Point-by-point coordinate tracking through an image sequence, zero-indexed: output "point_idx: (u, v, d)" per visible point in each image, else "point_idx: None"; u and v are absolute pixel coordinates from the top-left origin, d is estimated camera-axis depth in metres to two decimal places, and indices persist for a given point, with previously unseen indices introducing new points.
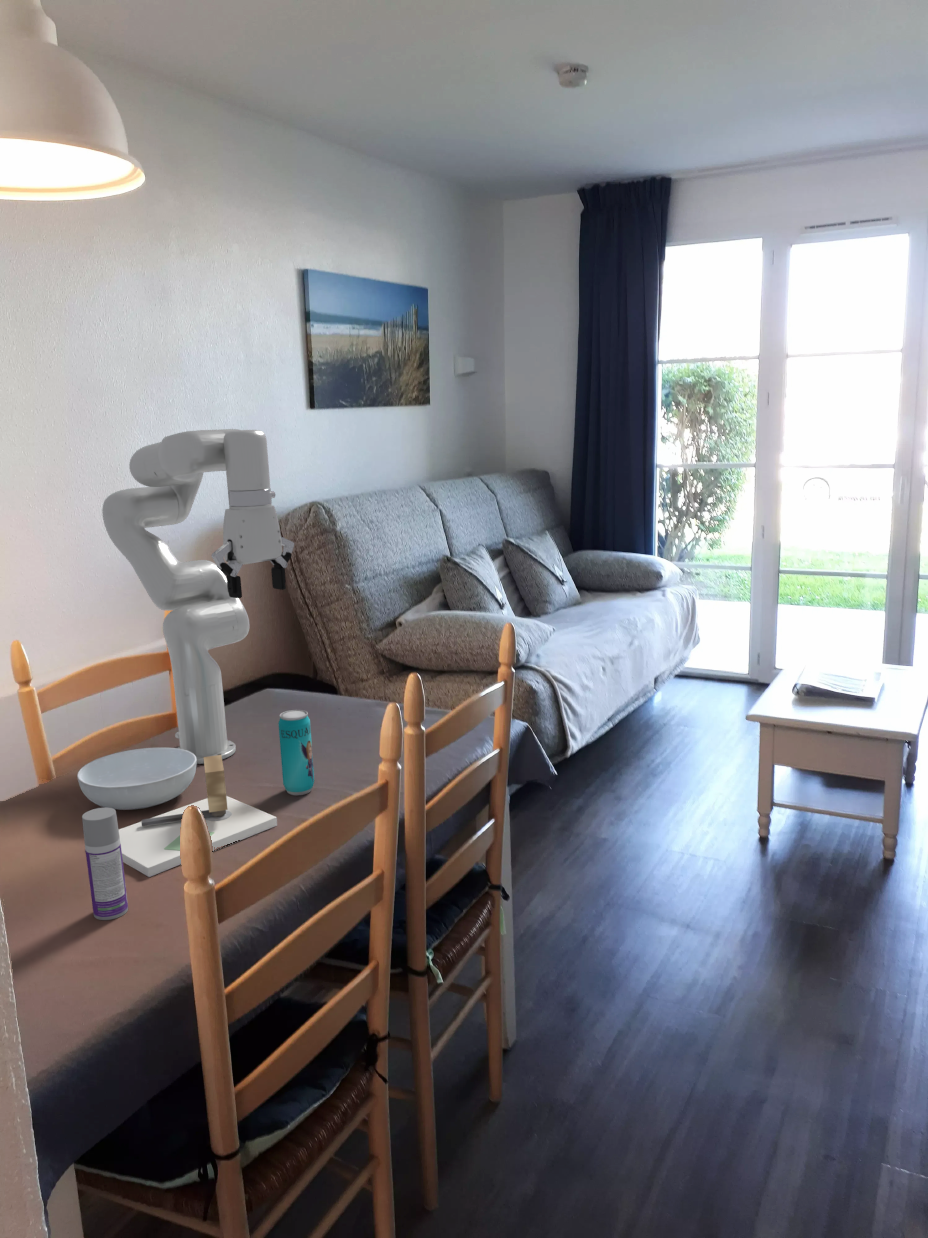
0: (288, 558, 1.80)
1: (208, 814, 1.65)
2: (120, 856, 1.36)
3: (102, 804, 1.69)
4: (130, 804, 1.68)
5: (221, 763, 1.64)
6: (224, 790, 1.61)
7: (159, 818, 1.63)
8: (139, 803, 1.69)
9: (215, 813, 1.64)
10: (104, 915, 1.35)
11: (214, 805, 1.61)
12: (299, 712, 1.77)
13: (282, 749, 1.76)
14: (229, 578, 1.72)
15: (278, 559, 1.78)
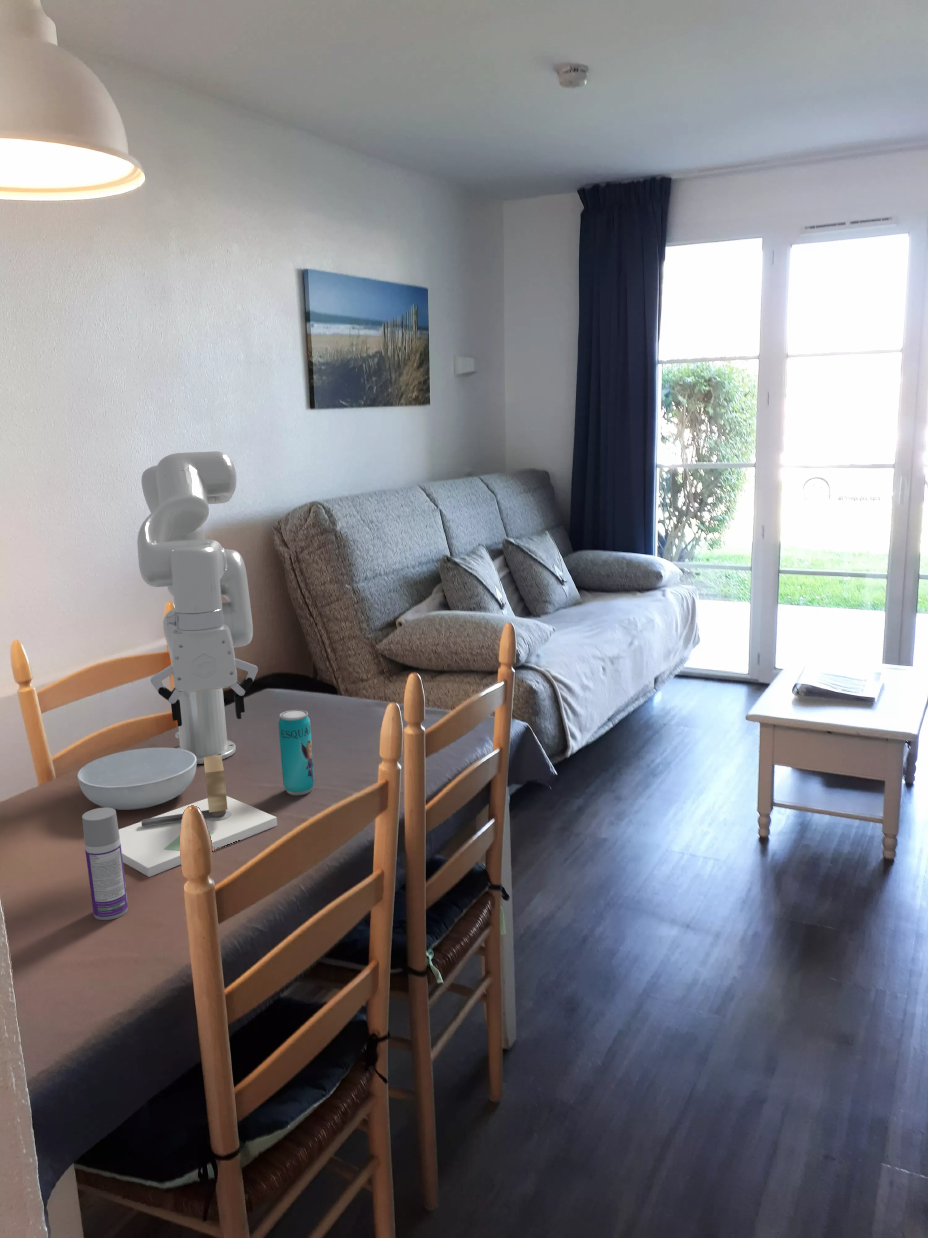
0: None
1: (208, 814, 1.65)
2: (120, 856, 1.36)
3: (102, 804, 1.69)
4: (130, 804, 1.68)
5: (221, 763, 1.64)
6: (224, 790, 1.61)
7: (159, 818, 1.63)
8: (139, 803, 1.69)
9: (215, 813, 1.64)
10: (104, 915, 1.35)
11: (214, 805, 1.61)
12: (299, 712, 1.77)
13: (282, 749, 1.76)
14: None
15: None
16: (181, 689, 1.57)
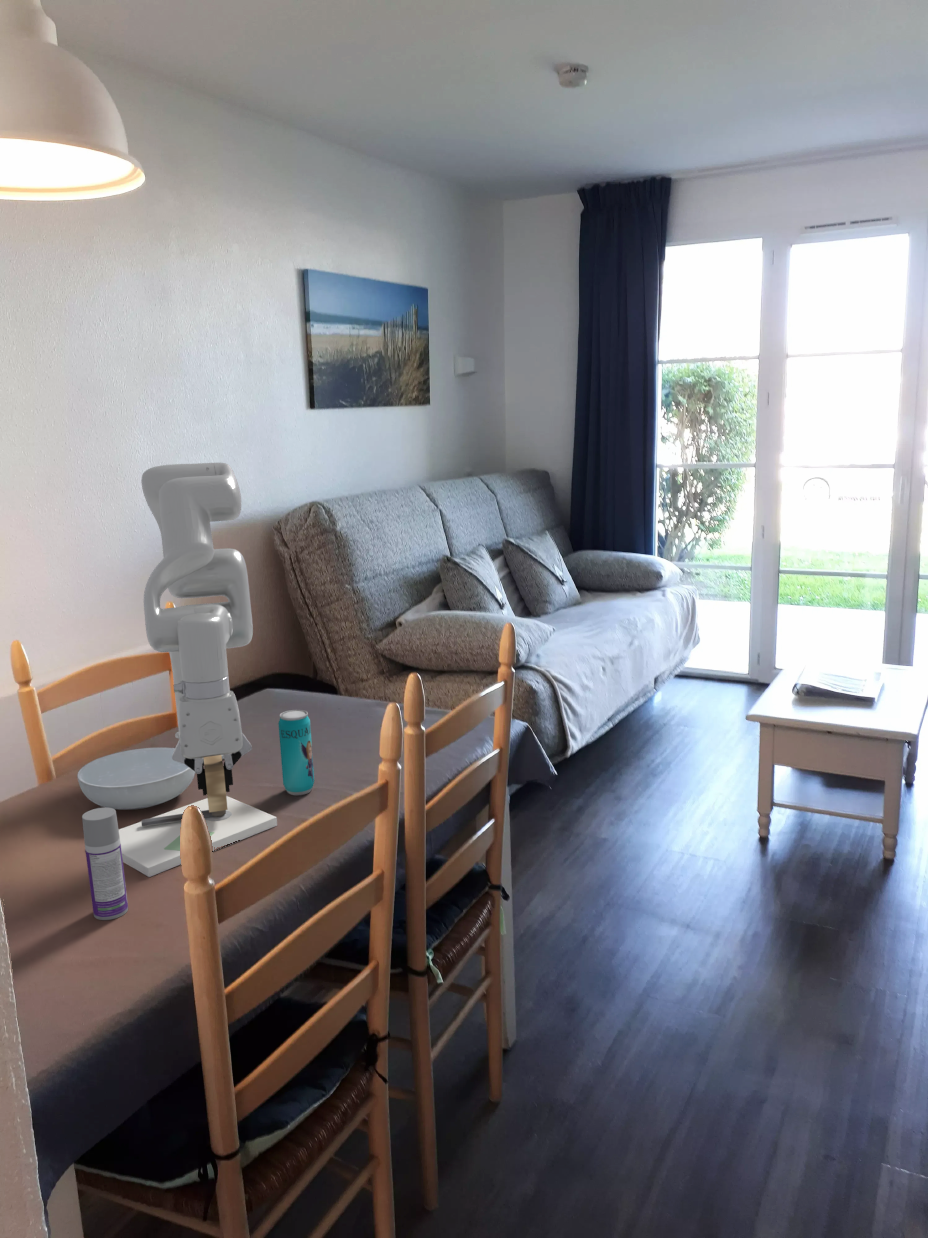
0: None
1: (208, 814, 1.65)
2: (120, 856, 1.36)
3: (102, 804, 1.69)
4: (130, 804, 1.68)
5: (221, 763, 1.64)
6: (224, 790, 1.61)
7: (159, 818, 1.63)
8: (139, 803, 1.69)
9: (215, 813, 1.64)
10: (104, 915, 1.35)
11: (214, 805, 1.61)
12: (299, 712, 1.77)
13: (282, 749, 1.76)
14: None
15: None
16: (188, 756, 1.60)
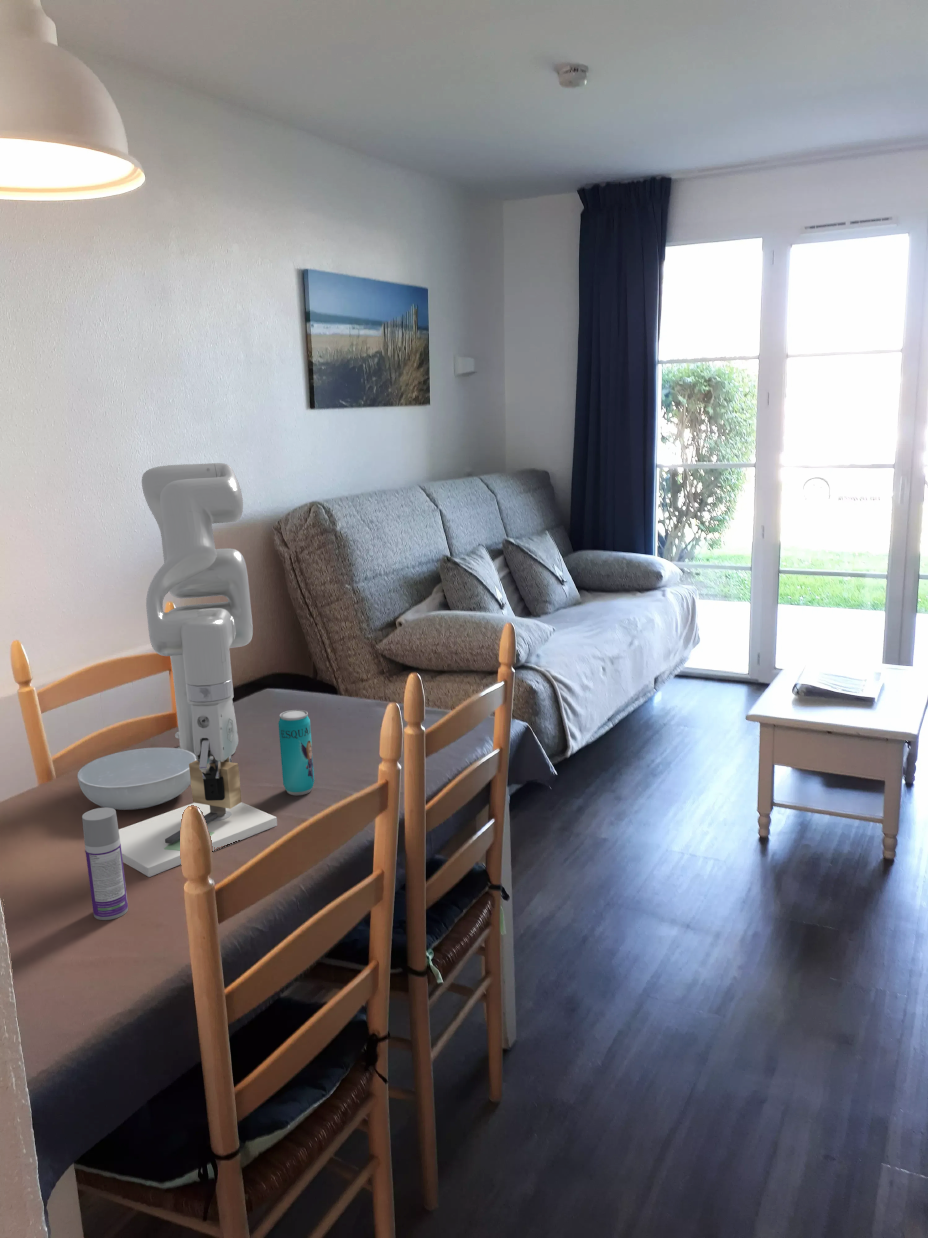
0: None
1: (215, 815, 1.64)
2: (120, 856, 1.36)
3: (102, 804, 1.69)
4: (130, 804, 1.68)
5: (220, 761, 1.65)
6: (239, 783, 1.64)
7: (179, 832, 1.57)
8: (139, 803, 1.69)
9: (221, 812, 1.65)
10: (104, 915, 1.35)
11: (233, 800, 1.63)
12: (299, 712, 1.77)
13: (282, 749, 1.76)
14: None
15: None
16: (224, 758, 1.59)
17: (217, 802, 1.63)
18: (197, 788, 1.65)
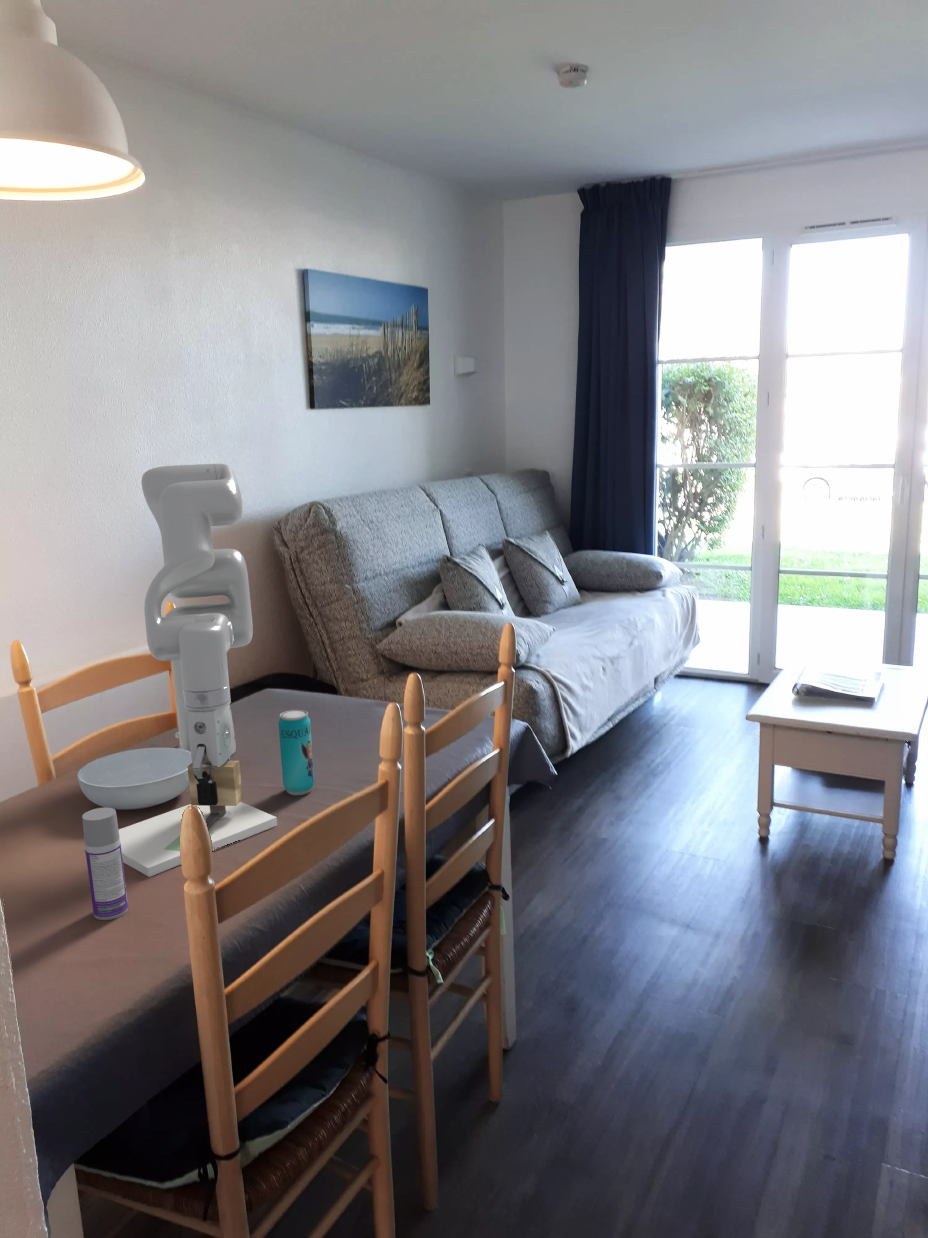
0: None
1: (218, 815, 1.64)
2: (120, 856, 1.36)
3: (102, 804, 1.69)
4: (130, 804, 1.68)
5: None
6: (240, 780, 1.65)
7: None
8: (139, 803, 1.69)
9: (223, 811, 1.65)
10: (104, 915, 1.35)
11: (237, 797, 1.64)
12: (299, 712, 1.77)
13: (282, 749, 1.76)
14: None
15: None
16: (221, 764, 1.60)
17: (221, 802, 1.64)
18: None
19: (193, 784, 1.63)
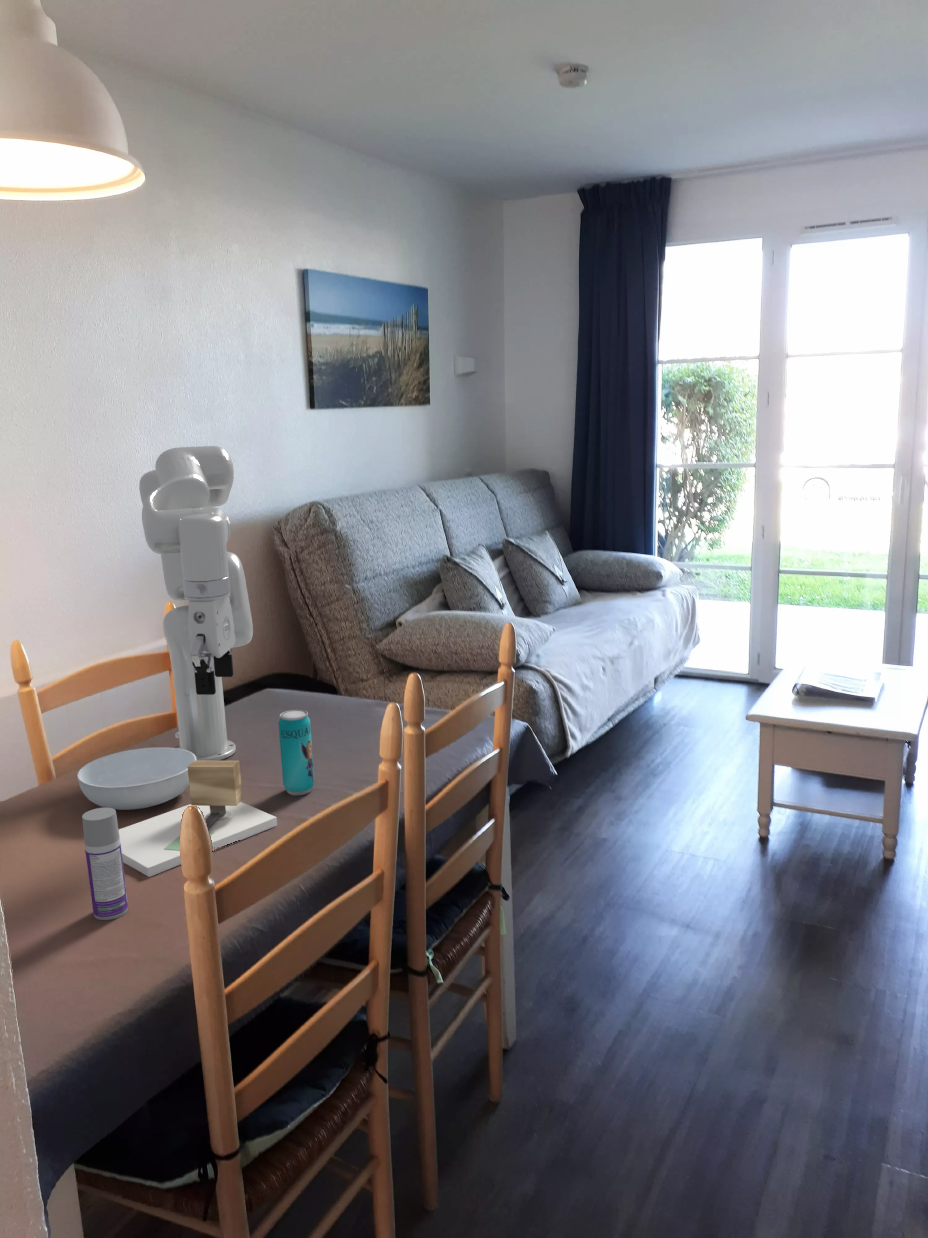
0: None
1: (218, 815, 1.64)
2: (120, 856, 1.36)
3: (102, 804, 1.69)
4: (130, 804, 1.68)
5: None
6: (240, 780, 1.65)
7: None
8: (139, 803, 1.69)
9: (223, 811, 1.65)
10: (104, 915, 1.35)
11: (238, 797, 1.64)
12: (299, 712, 1.77)
13: (282, 749, 1.76)
14: None
15: None
16: (220, 654, 1.61)
17: (221, 801, 1.64)
18: (197, 790, 1.64)
19: (193, 784, 1.63)
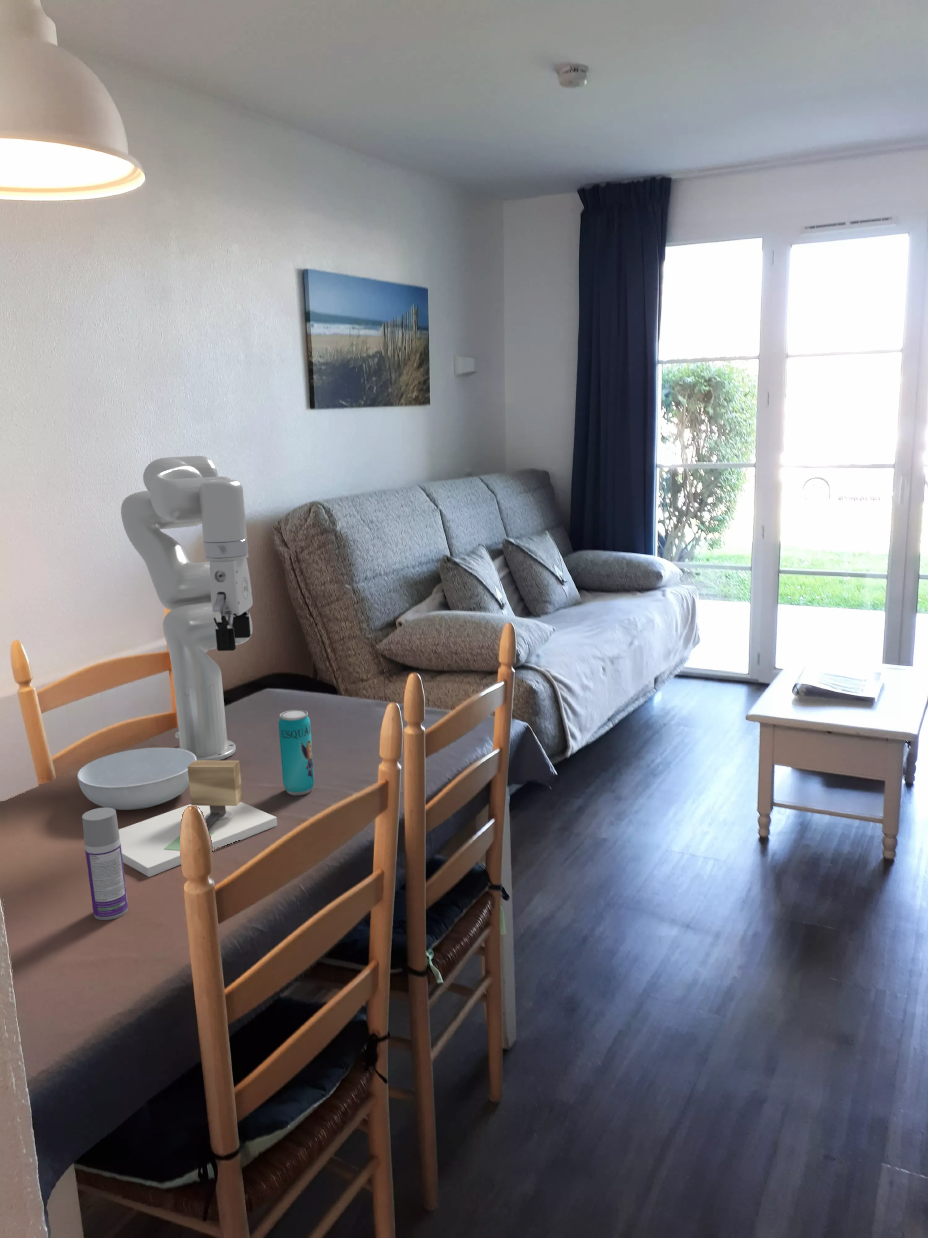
0: None
1: (218, 815, 1.64)
2: (120, 856, 1.36)
3: (102, 804, 1.69)
4: (130, 804, 1.68)
5: None
6: (240, 780, 1.65)
7: None
8: (139, 803, 1.69)
9: (223, 811, 1.65)
10: (104, 915, 1.35)
11: (238, 797, 1.64)
12: (299, 712, 1.77)
13: (282, 749, 1.76)
14: None
15: None
16: (240, 612, 1.69)
17: (221, 801, 1.64)
18: (197, 790, 1.64)
19: (193, 784, 1.63)
